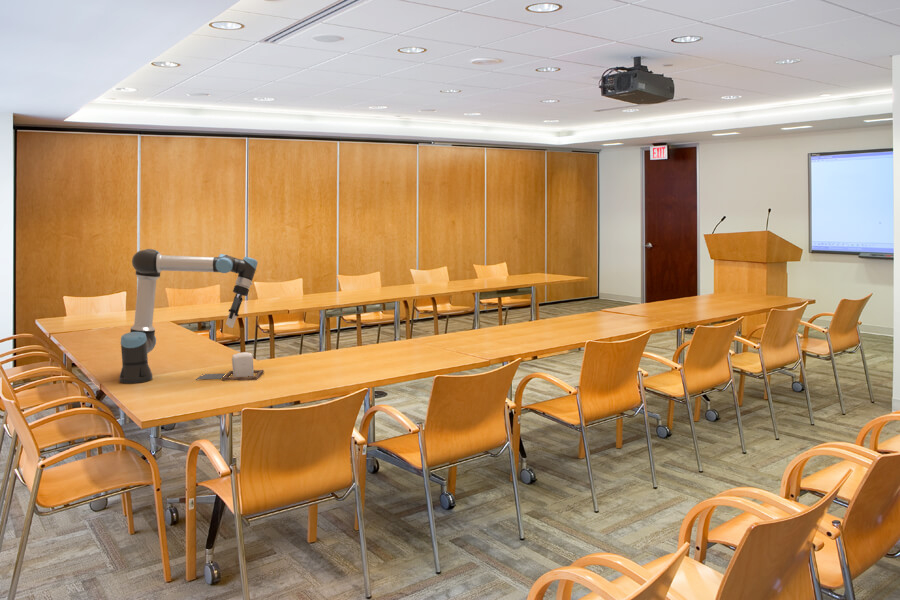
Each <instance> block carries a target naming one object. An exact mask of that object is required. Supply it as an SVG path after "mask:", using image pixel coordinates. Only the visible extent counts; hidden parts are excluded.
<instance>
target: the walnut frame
mask: <svg viewBox="0 0 900 600" xmlns="http://www.w3.org/2000/svg"><path fill="white" fill-rule="evenodd" d="M263 372H264V373H265V370H264V369H254V373H257V374H254V376H249V377H233V376H232V375H233V370H229V371H228V372H226V373H225V374H226V375H225V376H224V377H222V379H221V381H222V380H238V381H258V380H257V379H260V377H261V376H262V375H263V374H264V373H263ZM231 374H232V375H231ZM230 375H231V376H230ZM229 376H230V377H229Z"/></svg>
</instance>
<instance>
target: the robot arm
mask: <svg viewBox="0 0 900 600" xmlns="http://www.w3.org/2000/svg"><path fill="white" fill-rule="evenodd" d="M131 264H132V267H133V269H134V270H135V276H136V277H137V279H138V280H137V289H136V291H137V293H136V300H135V301H136V303H135V313H134V324H132V326H131V327H130V330H129V331H130V332H128V333H127V332H126V333H124V334H123V335H121V338H120V346H121V347H120V348H121V351H120V352H121V363H122V364H121V365H122V367H121V370H120V374H119V379H118V380H119V383H121V384H140V383H139V382H141V383H145V382H144V381H146V382H149V381H148V380H150V381H151V379H152V378H153V373H152V370H151V368H150V366H149V361H148V360H149V359H148V354H149V353H150V352H152V350H153V349H155V347H156V344H157V343H156V342H157V338H156V336H155V334H156V328H155V327H154V325H153V320H154V312H155V300H156V289H157V281H158V279H159V278H161V272H162V271H164V272H165V271H166V272H167V271H168V272H169V271H170V272H194V273H195V272H198V273H199V272H200V273H203V272H204V273H221V274H227V273H229V272H230V273H235V274H238V275H237V277H236V281H235V285H234V287H233V290H232V293H234V294H235V296H234V297H233V301H232V304H231V307H230V309H228V312H229V313H228V316H227V319H226V322H225V325H227V327H228V328H232V329H233V328H234V326H235V324H236V320H237V317H239V311H240V308H241V305H242V302H243V297H247V296H248V294H249V291H250V288H251V286H252V285H253V283H252V282H253V279H254V276H255V274H256V271H257V267H258V264H259V263H258V260H257V259H256V258H252V257H248V256H244V257H243V258H242V259H241V258H237V257H233V256H230V255H228V254H224V253H220V254H219V255H218V256H215V257H214V256H194V255H193V256H192V255H190V256H189V255H188V256H187V255H168V254H167V255H164V254H161V252H160V251H158V250H156V249H152V248H146V249H142V250H138V251H137V252H135V253H134V254H133V256H132V260H131ZM152 380H153V379H152Z"/></svg>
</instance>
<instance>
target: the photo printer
mask: <svg viewBox="0 0 900 600" xmlns="http://www.w3.org/2000/svg"><path fill="white" fill-rule="evenodd" d="M231 363H232V364H231V365H232V366H231V367H232V371H233V374H232V377H248V376H249V377H253V376H255V374H254V370H255V369H254V357H253V354H252V353H251V352H247V351H246V352H245V351H243V352H237V353H234V354H232V358H231Z"/></svg>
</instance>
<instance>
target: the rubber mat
mask: <svg viewBox="0 0 900 600" xmlns="http://www.w3.org/2000/svg"><path fill="white" fill-rule="evenodd" d="M203 374H205V375H203ZM225 374H226V373H202V374H201V375H203V376H201V375H199V376H198V377H197V378H195V380H196V381H198V380H197V379H221V378H222V377H223V376H224V375H225ZM221 380H222V379H221Z"/></svg>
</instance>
